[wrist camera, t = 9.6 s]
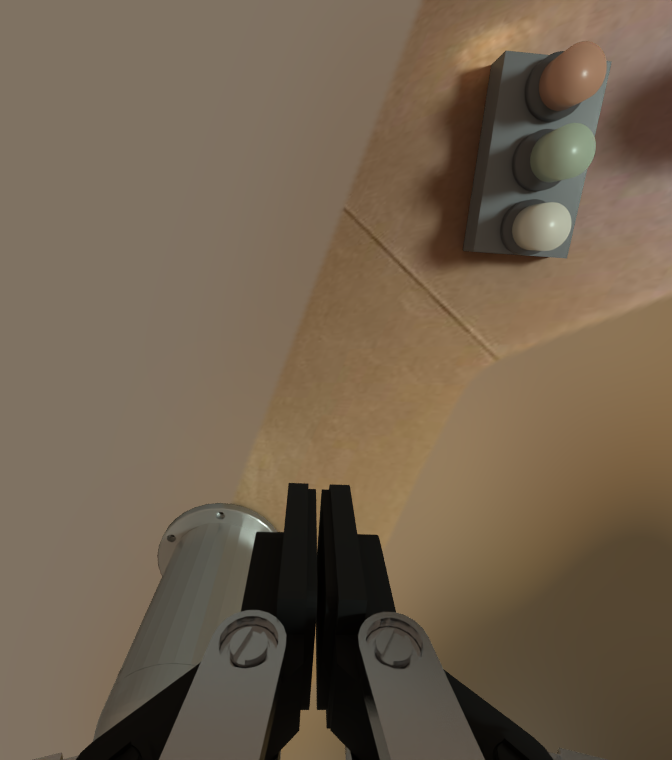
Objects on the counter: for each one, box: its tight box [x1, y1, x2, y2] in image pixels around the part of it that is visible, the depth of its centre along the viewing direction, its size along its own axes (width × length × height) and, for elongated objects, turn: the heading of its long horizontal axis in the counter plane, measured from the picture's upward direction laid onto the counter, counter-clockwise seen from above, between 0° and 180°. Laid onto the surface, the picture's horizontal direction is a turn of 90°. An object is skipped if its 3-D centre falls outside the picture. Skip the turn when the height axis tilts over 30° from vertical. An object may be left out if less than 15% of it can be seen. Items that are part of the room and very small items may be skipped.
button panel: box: [463, 51, 611, 258], centre depth 32 cm, size 13×8×3 cm, turn 176°
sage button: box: [530, 123, 596, 182], centre depth 28 cm, size 3×3×2 cm
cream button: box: [512, 202, 571, 251], centre depth 31 cm, size 3×3×2 cm
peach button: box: [539, 41, 607, 111], centre depth 28 cm, size 3×3×2 cm
